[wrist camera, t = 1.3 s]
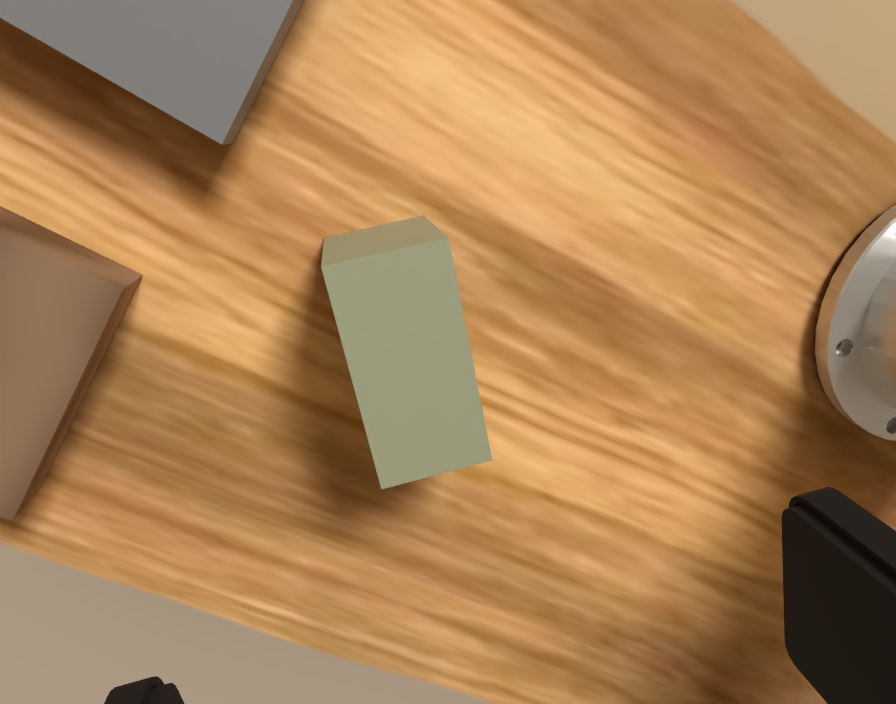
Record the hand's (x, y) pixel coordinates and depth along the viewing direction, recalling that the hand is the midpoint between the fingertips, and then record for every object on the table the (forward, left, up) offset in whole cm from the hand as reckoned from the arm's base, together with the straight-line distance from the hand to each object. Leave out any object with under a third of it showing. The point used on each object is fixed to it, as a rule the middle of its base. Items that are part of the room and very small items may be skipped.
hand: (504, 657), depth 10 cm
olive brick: (0, 0, -18) cm, 18 cm away
